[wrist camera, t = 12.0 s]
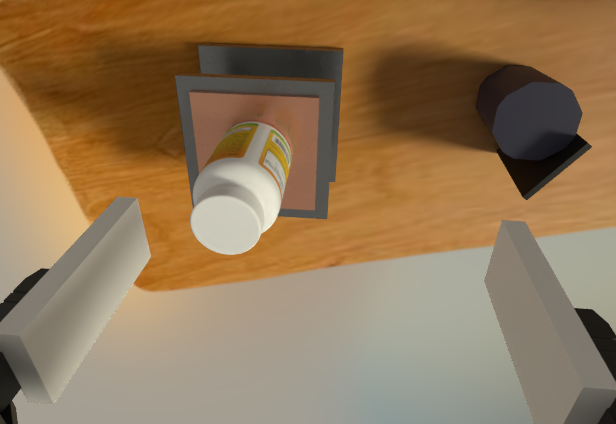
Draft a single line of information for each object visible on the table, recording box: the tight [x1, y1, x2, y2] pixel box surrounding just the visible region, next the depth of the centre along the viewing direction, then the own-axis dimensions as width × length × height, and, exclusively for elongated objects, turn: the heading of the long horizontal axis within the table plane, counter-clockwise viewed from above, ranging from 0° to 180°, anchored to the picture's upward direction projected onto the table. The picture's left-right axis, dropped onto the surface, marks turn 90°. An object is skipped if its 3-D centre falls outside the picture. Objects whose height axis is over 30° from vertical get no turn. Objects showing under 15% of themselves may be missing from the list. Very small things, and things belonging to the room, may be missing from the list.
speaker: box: [476, 65, 592, 200], centre depth 34 cm, size 8×6×10 cm
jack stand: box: [175, 43, 343, 219], centre depth 36 cm, size 12×12×9 cm
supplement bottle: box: [190, 122, 291, 255], centre depth 28 cm, size 5×5×10 cm
